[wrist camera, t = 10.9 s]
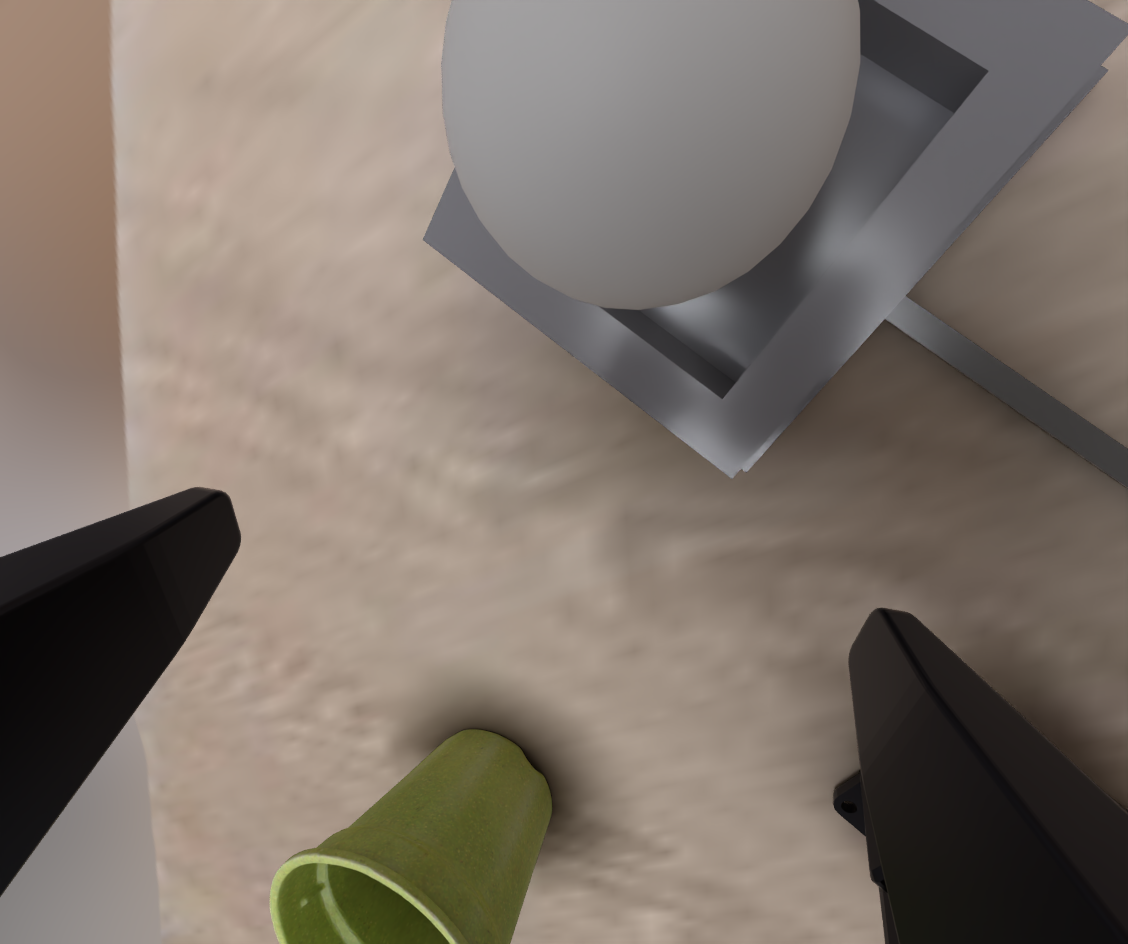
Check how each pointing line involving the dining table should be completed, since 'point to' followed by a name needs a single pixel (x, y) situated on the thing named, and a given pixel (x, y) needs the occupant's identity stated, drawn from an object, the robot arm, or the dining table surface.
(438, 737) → the dining table surface
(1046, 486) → the dining table surface
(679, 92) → the lightbulb
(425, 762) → the plant pot
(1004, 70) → the grey square pan
